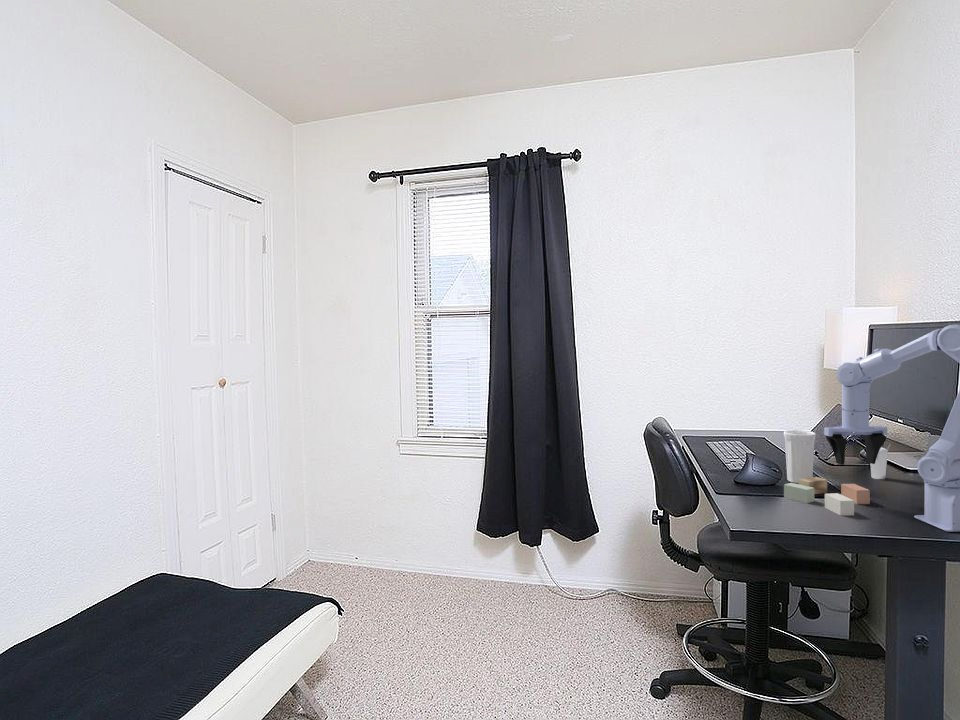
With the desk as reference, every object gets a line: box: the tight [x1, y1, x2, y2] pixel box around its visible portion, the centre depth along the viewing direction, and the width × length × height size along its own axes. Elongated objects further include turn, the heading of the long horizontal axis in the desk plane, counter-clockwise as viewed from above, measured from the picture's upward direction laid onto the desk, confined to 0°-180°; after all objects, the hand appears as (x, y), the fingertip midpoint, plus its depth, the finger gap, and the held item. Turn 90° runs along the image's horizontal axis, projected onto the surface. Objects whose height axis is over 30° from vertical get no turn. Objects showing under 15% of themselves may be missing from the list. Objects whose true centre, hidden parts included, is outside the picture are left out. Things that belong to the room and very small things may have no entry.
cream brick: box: [824, 492, 855, 516], centre depth 133 cm, size 6×3×4 cm, turn 179°
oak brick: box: [798, 476, 828, 495], centre depth 149 cm, size 6×3×4 cm, turn 104°
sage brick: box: [783, 482, 815, 504], centre depth 143 cm, size 6×3×4 cm, turn 29°
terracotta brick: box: [840, 483, 871, 505], centre depth 141 cm, size 6×3×4 cm, turn 179°
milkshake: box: [869, 443, 891, 480], centre depth 161 cm, size 4×5×10 cm
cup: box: [783, 429, 817, 484], centre depth 159 cm, size 8×8×14 cm
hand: (855, 463), depth 141 cm, fingers open, 7 cm apart
